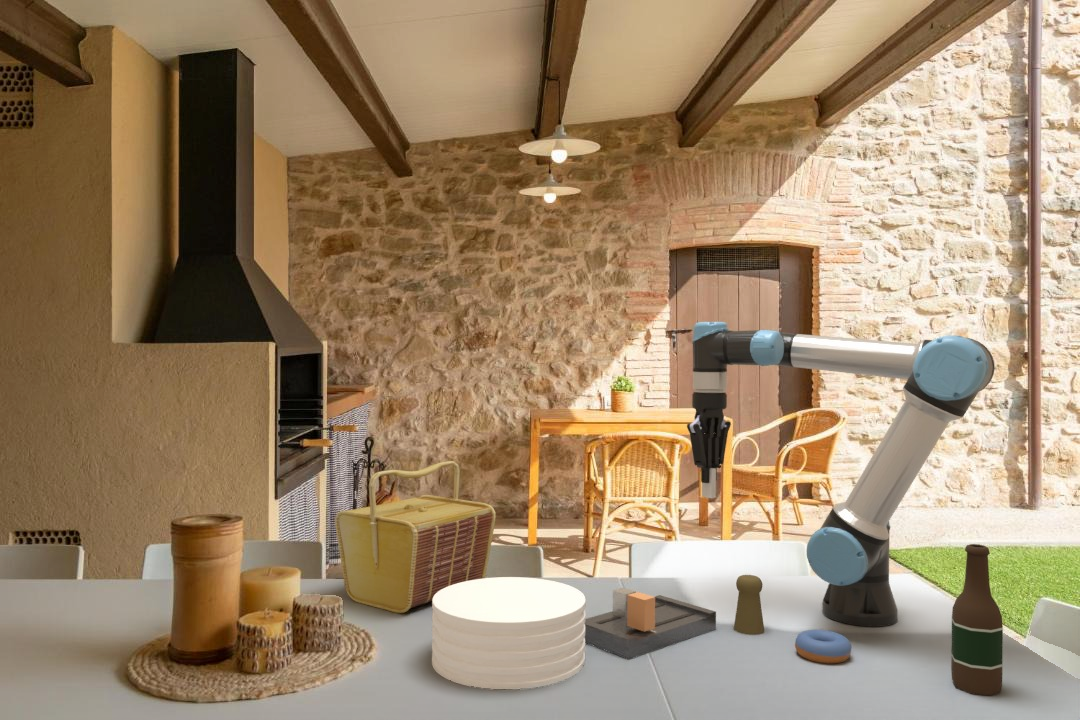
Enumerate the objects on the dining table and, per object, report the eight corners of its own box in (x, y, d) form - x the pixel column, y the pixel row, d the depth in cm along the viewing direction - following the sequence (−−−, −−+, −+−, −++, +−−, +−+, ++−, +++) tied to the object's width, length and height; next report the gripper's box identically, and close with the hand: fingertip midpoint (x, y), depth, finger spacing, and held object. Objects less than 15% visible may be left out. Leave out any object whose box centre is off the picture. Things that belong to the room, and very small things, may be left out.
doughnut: (852, 667, 147) (851, 641, 147) (793, 663, 150) (792, 637, 151) (851, 654, 156) (850, 629, 156) (797, 650, 159) (796, 626, 160)
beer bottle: (941, 678, 142) (942, 540, 142) (983, 677, 143) (984, 540, 143) (968, 697, 135) (969, 551, 134) (1013, 696, 135) (1014, 550, 135)
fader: (654, 628, 157) (655, 597, 157) (644, 631, 155) (644, 600, 155) (637, 622, 160) (638, 592, 160) (627, 625, 159) (627, 594, 158)
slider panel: (715, 629, 167) (716, 590, 167) (628, 659, 150) (628, 615, 150) (659, 611, 179) (660, 574, 179) (572, 637, 162) (573, 597, 162)
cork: (765, 635, 164) (765, 580, 164) (734, 633, 165) (734, 579, 165) (763, 626, 170) (763, 573, 170) (733, 623, 171) (733, 571, 171)
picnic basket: (420, 572, 210) (420, 455, 210) (499, 590, 195) (499, 463, 194) (329, 599, 186) (330, 467, 186) (411, 622, 171) (412, 478, 171)
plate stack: (467, 703, 132) (467, 631, 132) (411, 647, 156) (411, 587, 156) (614, 673, 144) (615, 608, 144) (541, 626, 169) (541, 570, 169)
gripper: (713, 390, 189) (713, 492, 190) (677, 391, 181) (676, 498, 181) (741, 391, 184) (740, 496, 184) (704, 392, 175) (703, 502, 175)
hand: (708, 497), depth 182 cm, fingers closed
